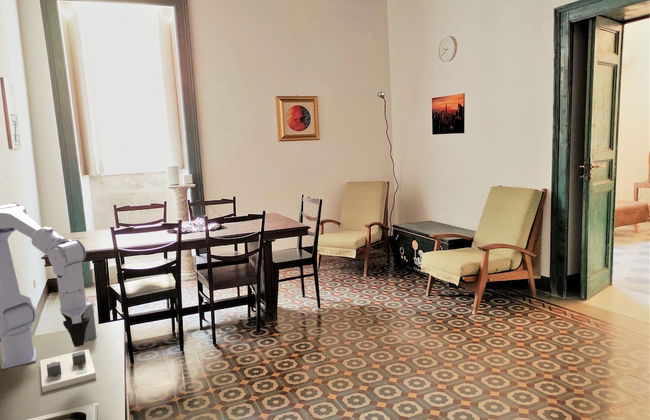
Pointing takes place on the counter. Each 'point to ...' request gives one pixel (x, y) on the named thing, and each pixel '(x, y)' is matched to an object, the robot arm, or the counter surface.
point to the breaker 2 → (78, 358)
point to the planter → (90, 324)
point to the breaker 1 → (53, 369)
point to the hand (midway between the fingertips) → (77, 340)
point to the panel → (67, 371)
